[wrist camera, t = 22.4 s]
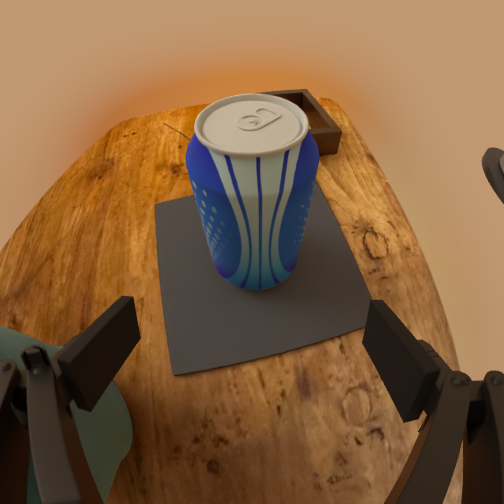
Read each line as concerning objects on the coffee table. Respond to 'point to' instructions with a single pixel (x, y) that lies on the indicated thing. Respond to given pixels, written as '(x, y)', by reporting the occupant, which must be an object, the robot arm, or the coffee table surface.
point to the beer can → (253, 185)
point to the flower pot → (83, 422)
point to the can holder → (314, 119)
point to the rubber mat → (253, 293)
